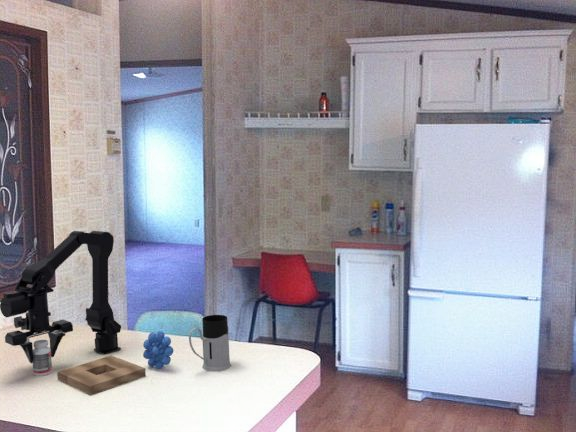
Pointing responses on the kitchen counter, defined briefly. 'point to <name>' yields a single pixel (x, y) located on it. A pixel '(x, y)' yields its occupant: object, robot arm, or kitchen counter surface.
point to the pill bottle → (41, 358)
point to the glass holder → (214, 343)
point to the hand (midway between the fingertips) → (41, 359)
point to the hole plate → (87, 374)
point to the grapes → (158, 350)
